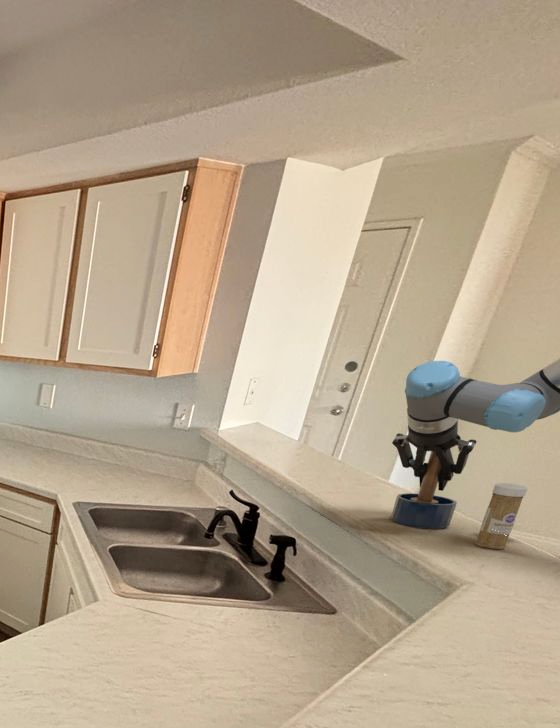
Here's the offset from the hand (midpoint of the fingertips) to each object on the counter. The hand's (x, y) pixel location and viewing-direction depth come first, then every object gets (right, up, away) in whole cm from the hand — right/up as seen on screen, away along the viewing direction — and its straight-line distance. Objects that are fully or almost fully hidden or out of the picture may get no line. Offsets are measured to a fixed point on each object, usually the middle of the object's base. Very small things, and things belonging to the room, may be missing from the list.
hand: (433, 484), depth 139 cm
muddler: (-3, -7, 0) cm, 7 cm away
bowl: (-2, -9, +1) cm, 9 cm away
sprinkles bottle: (-2, -15, -14) cm, 20 cm away
